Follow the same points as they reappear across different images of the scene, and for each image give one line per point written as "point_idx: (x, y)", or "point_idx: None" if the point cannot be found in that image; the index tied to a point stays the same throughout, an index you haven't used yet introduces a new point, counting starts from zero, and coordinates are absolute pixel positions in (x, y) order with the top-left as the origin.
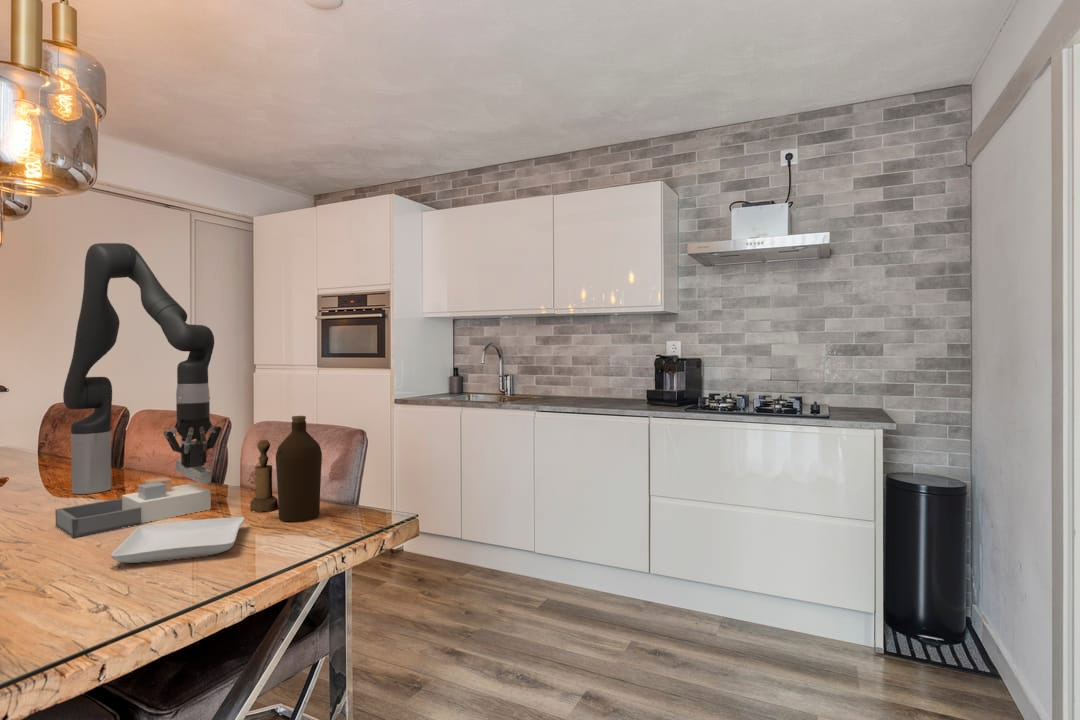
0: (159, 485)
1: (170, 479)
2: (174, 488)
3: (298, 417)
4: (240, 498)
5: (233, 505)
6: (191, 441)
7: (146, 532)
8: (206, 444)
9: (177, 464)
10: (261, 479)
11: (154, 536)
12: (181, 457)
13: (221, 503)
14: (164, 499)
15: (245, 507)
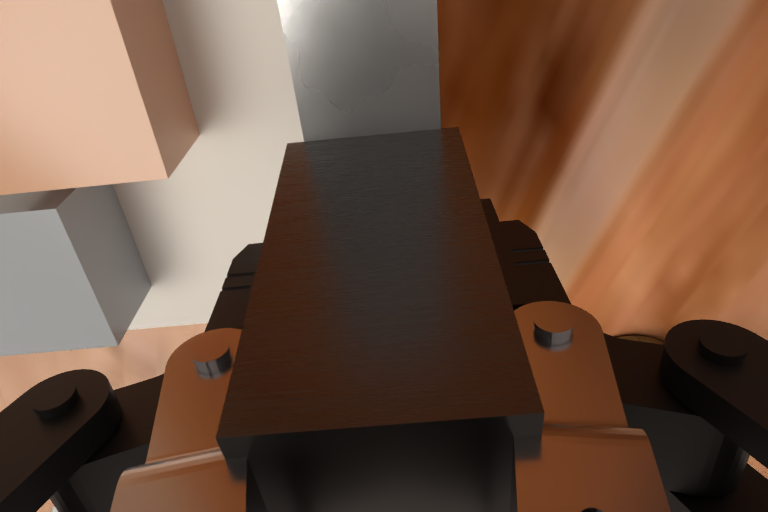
0: (71, 347)
1: (162, 162)
2: (237, 25)
3: None
4: (707, 63)
5: (566, 221)
6: (389, 452)
7: None
8: (654, 437)
9: None
10: None
11: None
12: (215, 320)
13: (546, 117)
14: (144, 325)
15: (582, 303)
